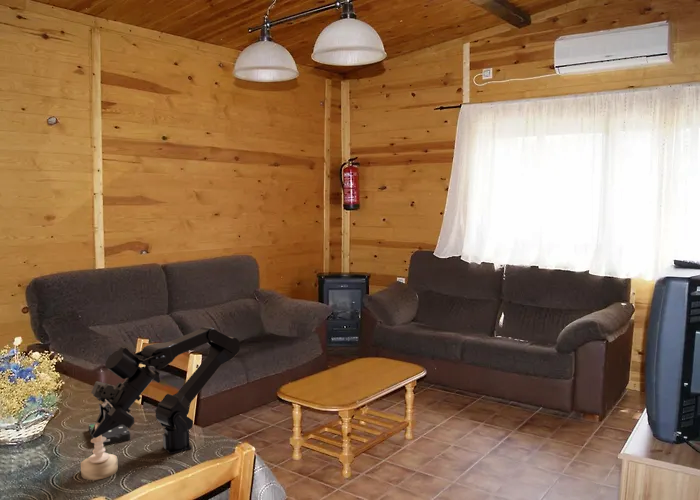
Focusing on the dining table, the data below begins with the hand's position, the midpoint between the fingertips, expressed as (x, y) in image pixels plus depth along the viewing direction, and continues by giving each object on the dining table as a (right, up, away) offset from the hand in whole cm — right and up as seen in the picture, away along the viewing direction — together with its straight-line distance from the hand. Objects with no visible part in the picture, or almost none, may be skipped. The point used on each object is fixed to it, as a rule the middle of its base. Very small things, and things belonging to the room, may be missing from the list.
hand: (92, 435), depth 161 cm
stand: (+1, -10, +2) cm, 10 cm away
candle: (+1, -7, +2) cm, 7 cm away
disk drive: (-6, -9, +27) cm, 29 cm away
